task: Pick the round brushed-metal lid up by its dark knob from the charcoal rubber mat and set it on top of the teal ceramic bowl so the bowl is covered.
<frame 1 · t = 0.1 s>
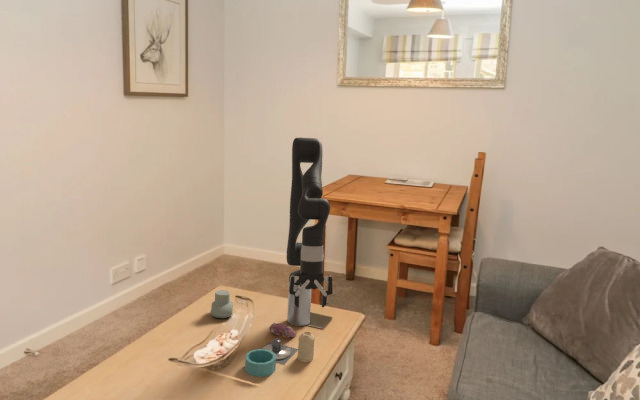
hand: (310, 306, 172), 22 cm above the table, tool pointing down, fingers open, 8 cm apart
air freshener: (221, 315, 213), on the table
mat: (276, 354, 185), on the table
purple rounded lump: (282, 337, 198), on the table
bowl: (260, 370, 174), on the table
lid: (276, 352, 185), point 1 cm above the table, touching mat
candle: (305, 360, 182), on the table
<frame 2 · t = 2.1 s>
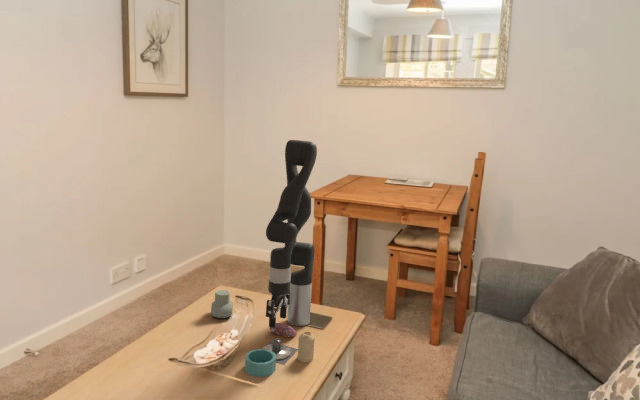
hand: (277, 322, 182), 12 cm above the table, tool pointing down, fingers open, 8 cm apart
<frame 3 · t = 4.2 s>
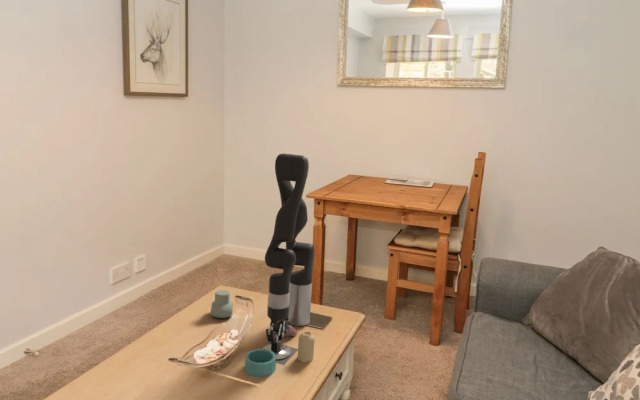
hand: (276, 348, 184), 2 cm above the table, tool pointing down, fingers closed on lid, 3 cm apart
lid: (276, 352, 185), point 1 cm above the table, touching gripper, mat
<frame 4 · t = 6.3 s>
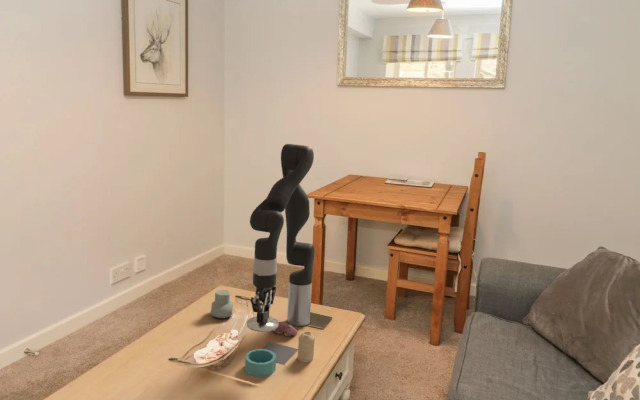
hand: (262, 320, 170), 18 cm above the table, tool pointing down, fingers closed on lid, 3 cm apart
lid: (262, 324, 171), point 16 cm above the table, touching gripper
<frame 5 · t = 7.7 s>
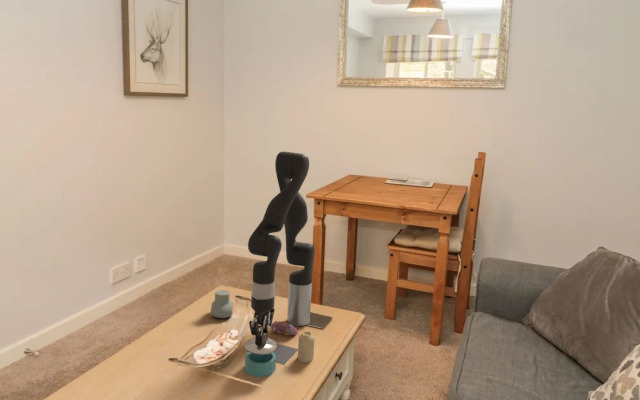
hand: (261, 342, 172), 10 cm above the table, tool pointing down, fingers closed on lid, 3 cm apart
lid: (261, 346, 172), point 9 cm above the table, touching gripper
when the fingers open (8 cm above the table, at t = 8.9 s): lid drops 1 cm, resting on bowl.
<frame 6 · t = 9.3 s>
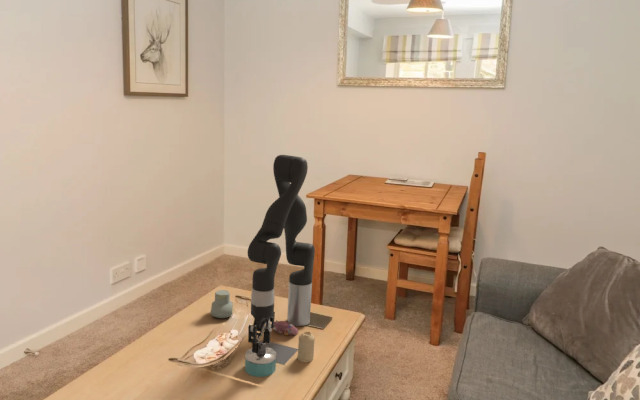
hand: (261, 347, 172), 8 cm above the table, tool pointing down, fingers open, 7 cm apart
lid: (260, 356, 173), point 5 cm above the table, touching bowl
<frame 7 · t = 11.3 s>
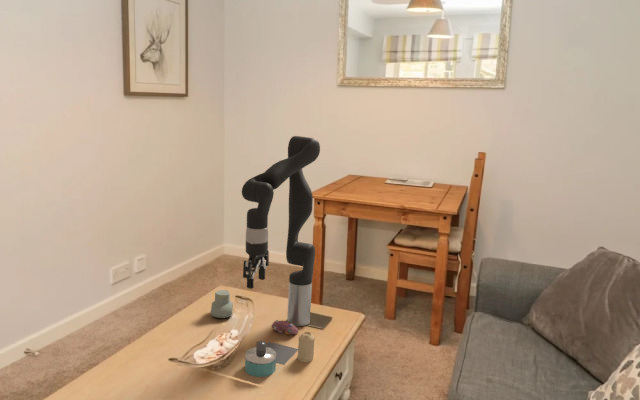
hand: (256, 283, 180), 26 cm above the table, tool pointing down, fingers open, 8 cm apart
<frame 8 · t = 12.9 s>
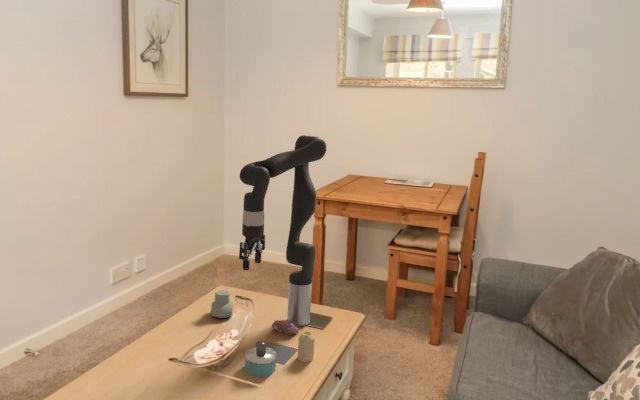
hand: (252, 266, 185), 30 cm above the table, tool pointing down, fingers open, 8 cm apart
at the end: lid 0.1 cm off-centre on the bowl, point 5.0 cm above the bowl's base; lid tilted 0°; the gripper is holding nothing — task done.
